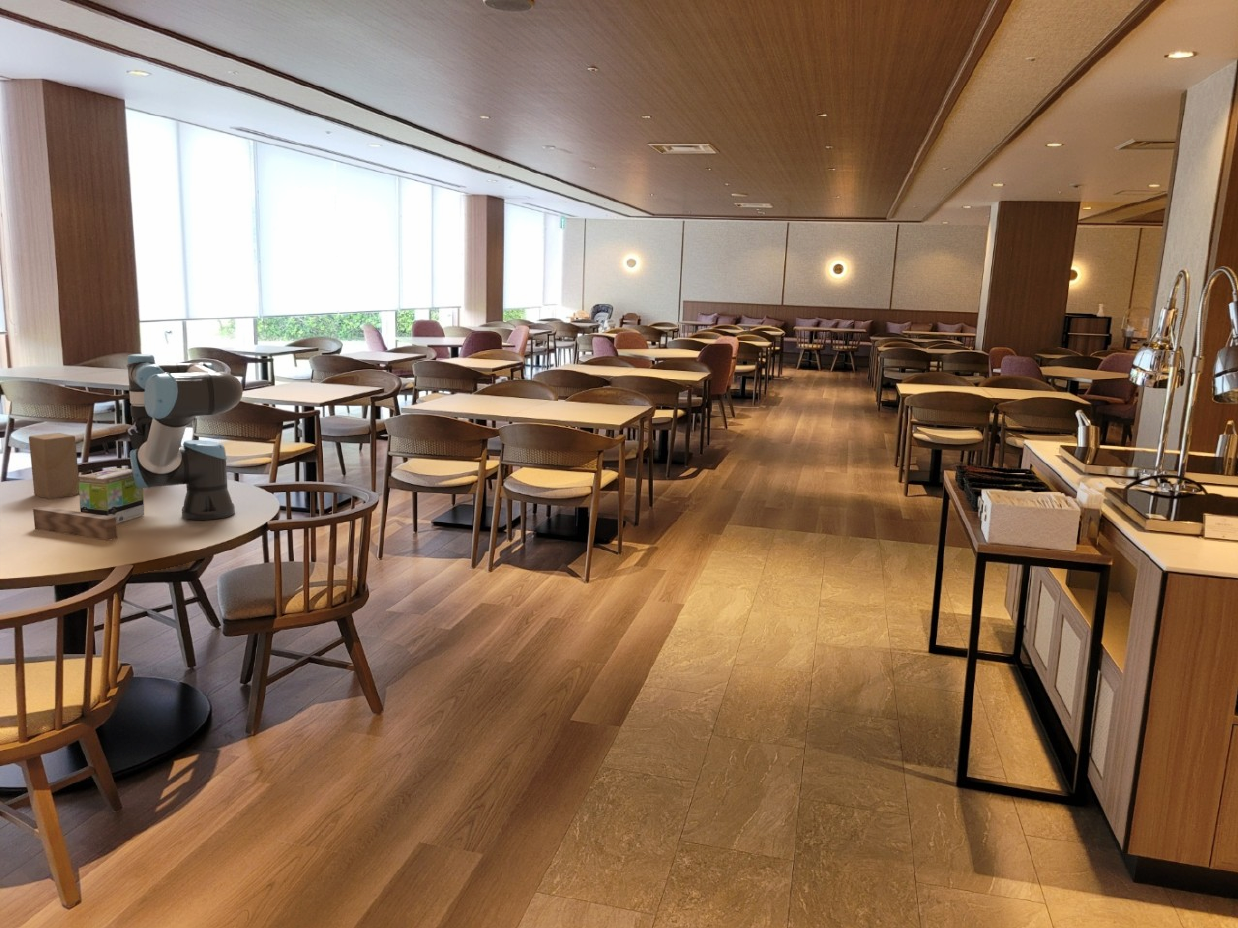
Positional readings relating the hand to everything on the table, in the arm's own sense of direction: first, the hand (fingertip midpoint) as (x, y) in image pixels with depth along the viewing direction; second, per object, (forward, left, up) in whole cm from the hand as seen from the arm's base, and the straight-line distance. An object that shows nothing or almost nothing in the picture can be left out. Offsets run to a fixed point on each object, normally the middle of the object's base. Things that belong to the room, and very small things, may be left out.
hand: (149, 478), depth 284 cm
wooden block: (+43, -2, -10) cm, 44 cm away
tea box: (0, +14, -10) cm, 18 cm away
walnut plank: (-3, +30, -10) cm, 32 cm away
